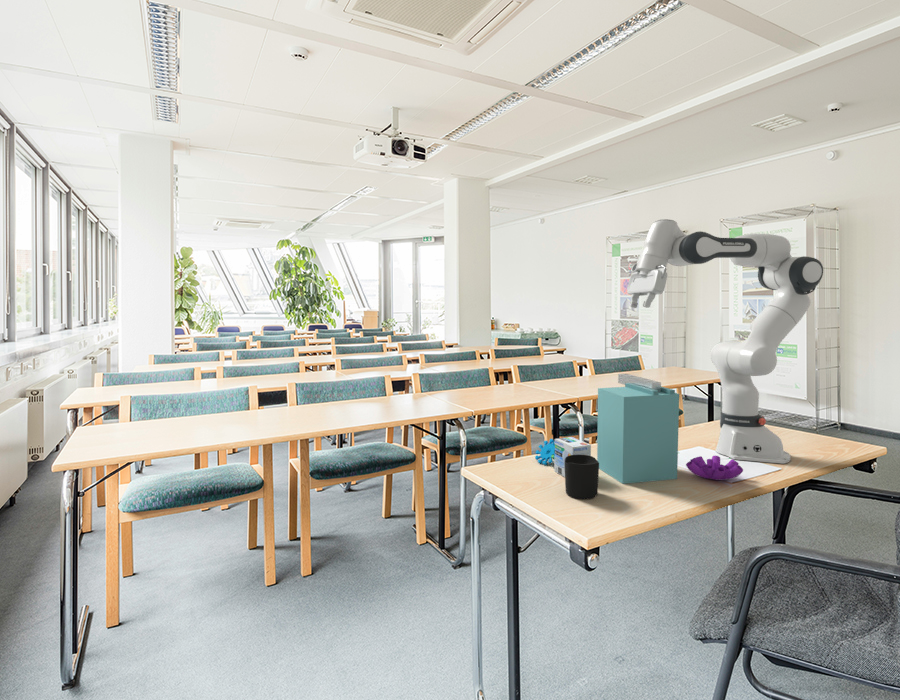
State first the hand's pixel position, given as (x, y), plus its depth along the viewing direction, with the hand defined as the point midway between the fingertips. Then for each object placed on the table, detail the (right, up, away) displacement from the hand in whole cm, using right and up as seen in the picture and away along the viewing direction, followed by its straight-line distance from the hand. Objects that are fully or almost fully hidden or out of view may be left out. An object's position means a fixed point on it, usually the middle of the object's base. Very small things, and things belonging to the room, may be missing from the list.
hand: (639, 307), depth 176 cm
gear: (-30, -52, +1) cm, 60 cm away
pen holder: (-26, -55, -27) cm, 67 cm away
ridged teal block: (-5, -53, -10) cm, 54 cm away
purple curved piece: (+17, -53, -17) cm, 58 cm away
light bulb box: (-25, -53, -11) cm, 60 cm away
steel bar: (-3, -26, -6) cm, 27 cm away
